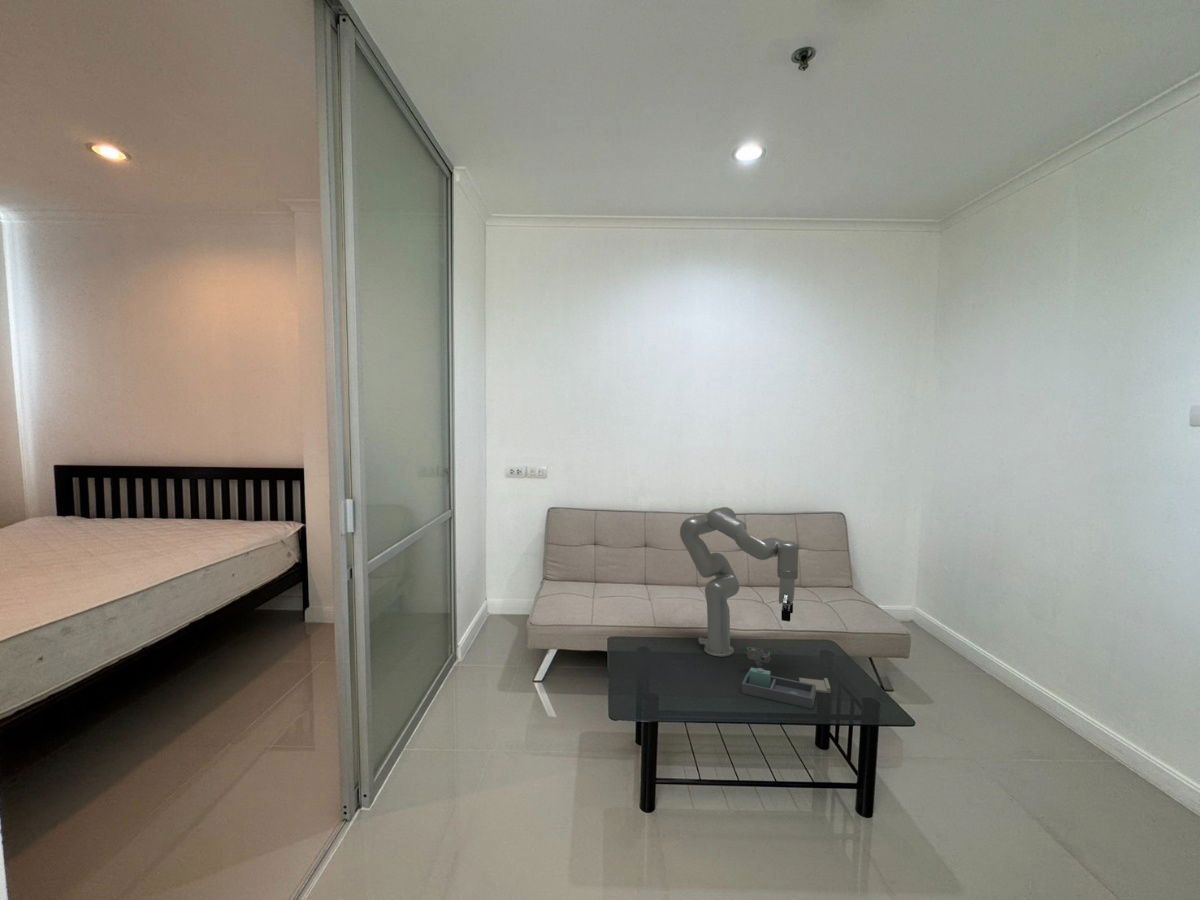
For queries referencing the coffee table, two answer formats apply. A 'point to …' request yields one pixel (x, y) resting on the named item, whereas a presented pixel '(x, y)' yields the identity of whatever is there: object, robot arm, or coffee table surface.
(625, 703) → the coffee table surface
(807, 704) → the housing
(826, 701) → the coffee table surface
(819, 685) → the lid plate
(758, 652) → the mechanical component
